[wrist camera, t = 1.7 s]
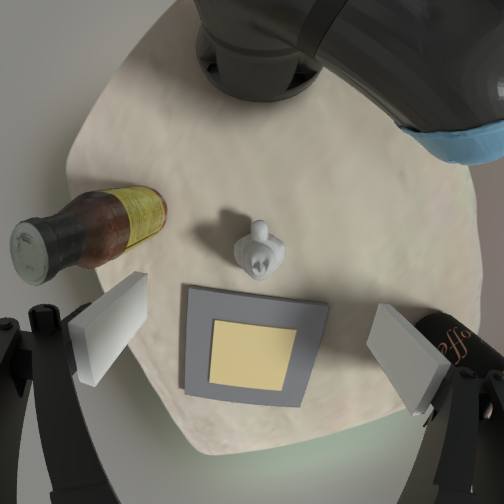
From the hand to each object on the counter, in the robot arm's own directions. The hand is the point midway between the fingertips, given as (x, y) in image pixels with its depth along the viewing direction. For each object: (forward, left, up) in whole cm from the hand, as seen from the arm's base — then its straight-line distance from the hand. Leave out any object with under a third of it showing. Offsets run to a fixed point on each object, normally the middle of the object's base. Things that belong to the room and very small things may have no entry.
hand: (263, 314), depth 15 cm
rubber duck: (0, 0, -18) cm, 18 cm away
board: (+14, +1, -18) cm, 23 cm away
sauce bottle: (-2, -14, -18) cm, 23 cm away
